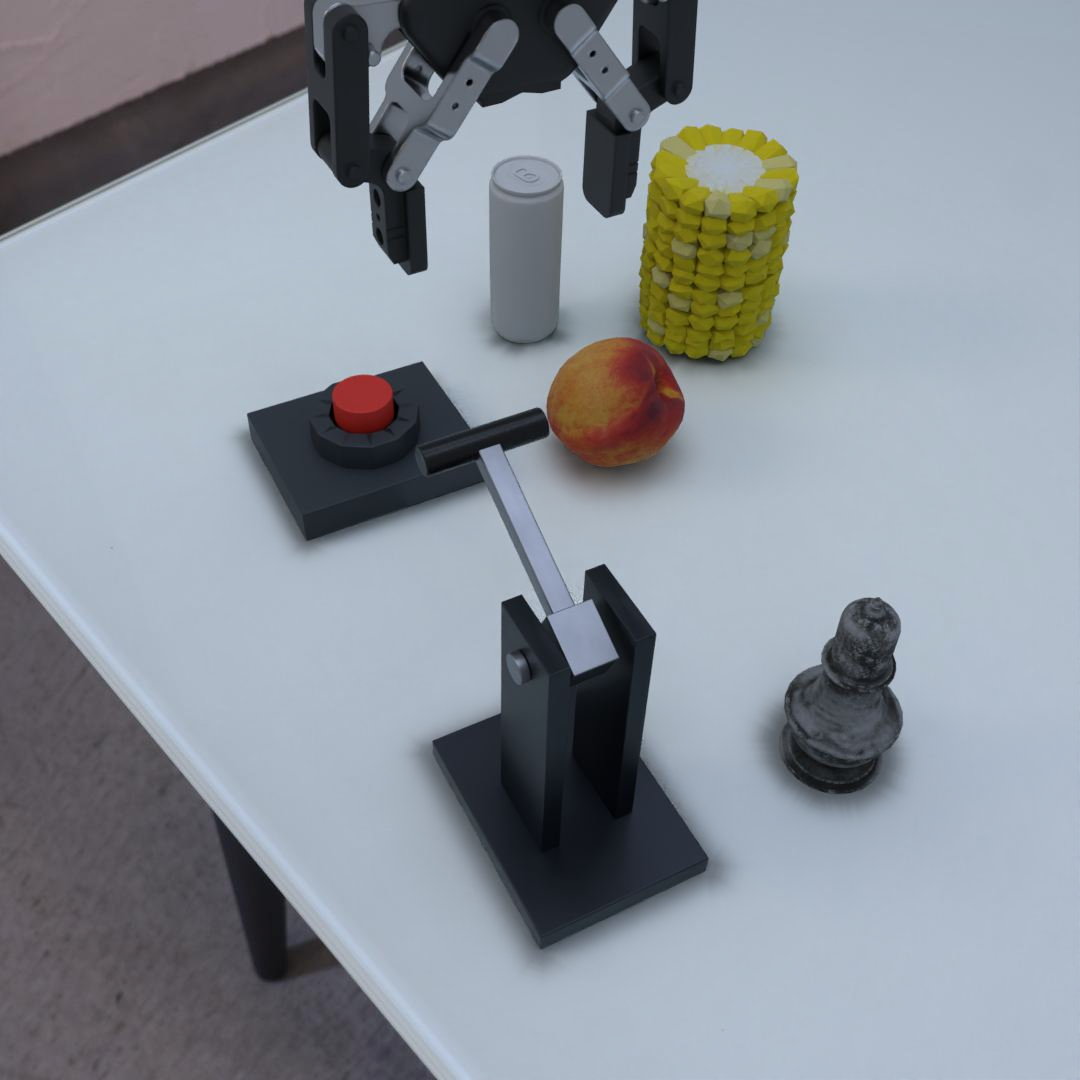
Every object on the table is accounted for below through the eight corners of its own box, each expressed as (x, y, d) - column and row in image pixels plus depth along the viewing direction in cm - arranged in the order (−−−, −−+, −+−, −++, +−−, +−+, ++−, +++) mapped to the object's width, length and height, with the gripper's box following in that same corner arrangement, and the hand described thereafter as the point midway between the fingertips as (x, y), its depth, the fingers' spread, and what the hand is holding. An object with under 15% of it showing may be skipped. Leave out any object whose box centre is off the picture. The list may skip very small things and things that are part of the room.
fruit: (634, 512, 80) (644, 412, 74) (522, 461, 82) (524, 361, 77) (694, 440, 84) (709, 341, 78) (587, 394, 87) (593, 295, 81)
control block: (306, 541, 77) (298, 492, 74) (251, 439, 83) (242, 390, 80) (489, 479, 81) (489, 431, 78) (424, 386, 87) (421, 338, 84)
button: (347, 441, 78) (345, 419, 77) (325, 406, 80) (323, 384, 79) (403, 424, 79) (401, 402, 78) (380, 389, 81) (378, 367, 80)
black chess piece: (764, 781, 66) (803, 629, 58) (784, 692, 70) (824, 538, 62) (880, 812, 65) (939, 662, 57) (894, 720, 69) (950, 567, 61)
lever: (411, 458, 58) (417, 436, 56) (530, 420, 60) (542, 396, 58) (520, 707, 55) (532, 693, 53) (643, 657, 57) (659, 642, 55)
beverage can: (521, 356, 90) (523, 202, 81) (475, 323, 92) (473, 171, 83) (572, 328, 92) (580, 176, 83) (526, 296, 94) (529, 146, 86)
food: (762, 312, 96) (747, 403, 90) (611, 260, 96) (585, 349, 89) (848, 139, 85) (838, 230, 78) (677, 79, 84) (652, 166, 78)
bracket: (432, 753, 67) (420, 557, 56) (586, 691, 70) (602, 493, 59) (540, 950, 60) (549, 767, 49) (706, 870, 63) (749, 682, 52)
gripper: (647, -292, 44) (615, 148, 56) (240, -240, 39) (299, 231, 51) (779, -227, 39) (714, 237, 51) (337, -158, 34) (377, 338, 46)
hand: (507, 234), depth 51 cm, fingers open, 8 cm apart
